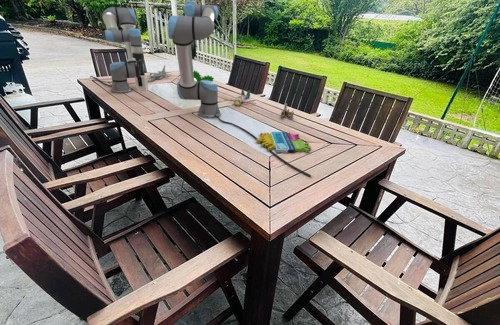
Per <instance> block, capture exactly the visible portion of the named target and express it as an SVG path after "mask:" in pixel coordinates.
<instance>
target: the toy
mask: <svg viewBox="0 0 500 325" xmlns="http://www.w3.org/2000/svg"><path fill="white" fill-rule="evenodd" d="M240 92H241V93H240V95H238V96H237V97H235V99H233V98H230V99H228V98H227V97H226V96H225V97H224V98H223V101H224V102H233V103H232V104H233V105H235V106H242V103H243V104H247V105H252V106H255V105H256V104H257V103H256V102H254V101H253V100H252V101H251V102H250V101H248V100H246V99H248V98H250V97H251V90H250V89H249V90H248V91H247V92H246V93H245V91H244V89H242V90H241V91H240Z"/></svg>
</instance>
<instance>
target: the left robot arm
mask: <svg viewBox="0 0 500 325" xmlns="http://www.w3.org/2000/svg"><path fill="white" fill-rule="evenodd" d="M101 17H102V20H103V23H104V24H105V28H106V29H105V30H104V36H105V40H106V42H109V43H110V42H111V43H124V44H125V48H126V54H127V61H126V63H125V62H124V61H115V62H112V63H110V64H109V71H110V77H111V85H110V84H108V83H106V82H104V81H102V80H100V79H99V78H97V77H95V76H92V75H90V76H89V79H91V78H93V79H95V80H97V81H99V82H100V83H101V84H102V85H105V86H108V87H110V88H111V92H112V93H116V94H124V93H131V92H132V88H131V86H130V84H129V82H128V79H135V77H137V79H138V85H139V86H143V85H142V78H141V75H143V76H146V74H145V73H146V72H145V64H144V60H143V59H144V58H145V57H144V53H143V52H144V50H143V43H142V34H141V30H140V29H139V28H136V25H138V21H137V16H136V13H135V11H134V9H133V8H131V7H130V8H128V7H115V6H110V7H107V8H106V9H105V10H104V11H103V12H102V16H101ZM118 25H119V27H120V28H122V29H121V30H120V29H119V27H118Z"/></svg>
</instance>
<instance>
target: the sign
mask: <svg viewBox="0 0 500 325" xmlns="http://www.w3.org/2000/svg"><path fill="white" fill-rule="evenodd" d="M299 136H300V135H299V134H298V133H296V134H294V133H291V132H287V131H270V132H264V133H263V132H260V133H259V138H257V140H256V143H257V144H261V143H260V142H262V144H261V148H263V147H264V145H265V147H264V148H265V149H267V148H266V147H268V149H267V151H268V152H270V151H269V150H271V151H272V150H273V149H275V152H276V153H283V154H285V153H287V154H288V153H290V154H293V153H296V152H298V153H301V152H305V153H310V151H311V150H312V149H311V148H312V146H309V142H304V141H303V139H302V138H299Z"/></svg>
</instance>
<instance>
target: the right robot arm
mask: <svg viewBox="0 0 500 325" xmlns="http://www.w3.org/2000/svg"><path fill="white" fill-rule="evenodd" d="M218 8H219V7H218V6H217V5H209V4H208V5H207V4H197V1H195V0H186V1H185V5H184V6H183V13H184V15H179V14H178V15H170V16H169V18H168V23H167V25H168V26H167V35H168V39H169V40H172V43H173V44H174V45H175V49H176V56H177V62H178V63H177V64H178V69H179V77H180V78H179V79H178V81H177V82H176V91H177V95H178V97H179V99H181V100H185V101H188V100H189V101H191V100H192V101H200V106H199V109H198V116H199V117H201V118H205V119H214V118H217V119H218V120H219V121H220V122H222V123H224V124H228V125H233V126H235V127H237V128H238V129H240V130H242V131H244V132H246V133H247V134H248V135H250V136H251V137H253V139H255V140H256V141H257V139H258V137H256V136H255V135H254V134H253V133H252V132H249V131H248V130H247V129H244V128H243V127H241V126H239V125H236V124H235V123H232V122H229V121H225V120H222V118H220V117H221V110H220V108H219V102H218V96H219V94H218V93H219V88H218V84H217V82H215V81H214V80H213V81H209V80H201V81H200V83H198V82H197V81H196V79H195V78H194V73H193V72H194V63H193V60H195V58H197V48H198V46H197V41H203V40H205V39H208V38H209V37H210V36H211V35H212V34H213V33H214V31H215V22H214V20H215V19H218V18H219V17H218V14H219V12H218V11H219V10H218ZM259 144H261V145H262V142H260V143H259ZM264 148H265V145H264ZM265 149H266V150H268V147H266V148H265ZM268 152H270V153H271V154H272V155H274V156H275V157H276V158H277V159H279V160H280V161H281V162H283V163H285V164H286V165H287V166H289V167H291V168H292V169H294V170H296V171H298V172H300V173H302V174H303V175H306V176H307V177H309V178H310V177H312V174H310V173H307V172H306V171H303V170H301V169H300V168H298V167H296V166H294V165H292V164H291V163H289V162H288V161H286V160H285V159H283V158H282V157H280V156H279V155H278V154H276V153H275V152H274V151H273V150H272V149H271V150H269V151H268Z"/></svg>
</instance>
